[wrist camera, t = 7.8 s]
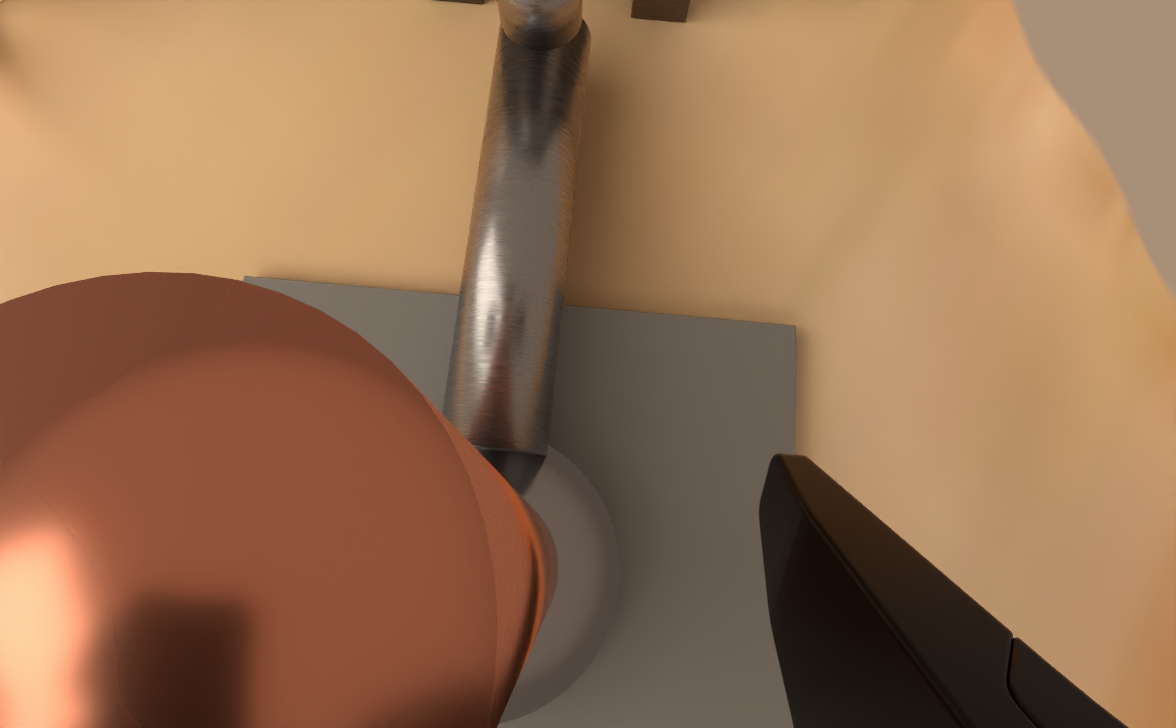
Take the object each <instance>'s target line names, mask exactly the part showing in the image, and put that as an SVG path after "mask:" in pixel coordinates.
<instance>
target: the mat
mask: <svg viewBox="0 0 1176 728" xmlns="http://www.w3.org/2000/svg"><path fill="white" fill-rule="evenodd" d="M243 282H246V283H249V284H253V285H256V286H260V287H263V288H267V289H270V290H273V291H277V292H280V293H283V294H285V295H287V296H289V297H292V298H294V299H296V300H298V301H301V302H303V303H305V304H308V305H310V306H312V307H314V308H317V309H319V310H321V311H323V312H324V313H326V314H327V315H329V316H331V317H332V318H334V319H335V320H337V321H339V322H340V323H342V324H344V325H345V326H347V327H348V328H350V329H352V330H353V331H355V332H357V333H358V334H359V335H360V336H362V337H363V338H364V339H365V340H366V341H368V342H369V343H370V344H371V345H372V346H374V347H375V348H376V349H377V350H379V351H380V352H381V353H382V354H383V355H385V356H386V357H387V358H388V359H389V360H391V361H392V362H393V363H394V364H395V365H396V366H397V368H398V369H399V370H400V371H401V372H402V373H403V374H404V375H405V376H406V377H407V378H408V379H409V380H410V381H411V382H412V383H413V384H414V385H415V386H416V387H417V388H418V389H419V390H420V391H421V392H422V393H423V394H424V396H425V397H426V398H427V399H428V400H429V401H430V402H431V403H432V404H433V405H434V406H435V407H436V408H437V409H438V410H439V411H440V412H441V413H442V410H443V403H444V396H445V390H446V383H447V376H448V370H449V363H450V356H451V350H452V343H453V336H454V330H455V323H456V316H457V310H458V303H459V296H460V295H450V294H439V293H428V292H417V291H406V290H395V289H384V288H373V287H362V286H351V285H340V284H329V283H318V282H307V281H296V280H285V279H274V278H263V277H251V276H244V279H243ZM795 355H796V326H792V325H781V324H770V323H759V322H748V321H737V320H726V319H715V318H704V317H693V316H682V315H671V314H660V313H649V312H638V311H627V310H616V309H605V308H594V307H583V306H572V305H563V308H562V317H561V327H560V336H559V346H558V355H557V364H556V374H555V383H554V393H553V402H552V412H551V421H550V431H549V440H548V445H549V446H550V447H552V448H554V449H555V450H557V451H559V452H560V453H562V454H563V455H564V456H565V457H566V458H568V459H569V460H570V461H571V462H573V463H574V464H575V465H576V466H577V467H578V468H579V469H580V470H581V471H582V472H583V474H584V475H585V476H586V477H587V478H588V479H589V481H590V482H591V483H592V485H593V486H594V488H595V489H596V490H597V492H598V494H599V495H600V497H601V499H602V501H603V503H604V505H605V507H606V508H607V511H608V514H609V516H610V519H611V521H612V524H613V527H614V531H615V535H616V539H617V544H618V552H619V560H620V583H619V590H618V598H617V604H616V607H615V611H614V615H613V619H612V622H611V624H610V627H609V629H608V632H607V634H606V637H605V639H604V641H603V643H602V645H601V646H600V648H599V650H598V652H597V654H596V655H595V657H594V659H593V660H592V661H591V663H590V664H589V665H588V667H587V668H586V669H585V671H584V672H583V673H582V675H581V676H580V677H579V678H578V679H577V680H576V681H575V682H574V683H573V684H572V685H571V686H570V687H569V688H568V689H567V690H565V691H564V692H563V693H562V694H560V695H559V696H558V697H557V698H555V699H554V700H553V701H551V702H550V703H548V704H546V705H545V706H543V707H541V708H540V709H538V710H536V711H535V712H532V713H530V714H528V715H525V716H523V717H521V718H518V719H516V720H512V721H508V722H504V723H501V724H498V726H497V728H793V722H792V718H791V713H790V709H789V705H788V700H787V696H786V691H785V687H784V683H783V678H782V674H781V669H780V665H779V661H778V656H777V652H776V647H775V643H774V639H773V634H772V629H771V623H770V618H769V610H768V601H767V592H766V582H765V572H764V563H763V553H762V543H761V534H760V524H759V503H760V498H761V494H762V491H763V487H764V483H765V479H766V475H767V472H768V468H769V464H770V461H771V459H772V457H773V456H774V455H775V454H777V453H784V454H795Z"/></svg>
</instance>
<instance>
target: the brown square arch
mask: <svg viewBox="0 0 1176 728" xmlns="http://www.w3.org/2000/svg"><path fill="white" fill-rule="evenodd" d="M442 1H453V2H464V3H476V4H483V0H442ZM689 3H690V0H633V3H632V15H631V17H633V18H645V19H656V20H667V21H679V22H685V21H686V17H687V12H688V7H689Z"/></svg>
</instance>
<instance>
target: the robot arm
mask: <svg viewBox="0 0 1176 728" xmlns="http://www.w3.org/2000/svg"><path fill="white" fill-rule="evenodd" d="M759 524H760V534H761V543H762V553H763V563H764V572H765V582H766V592H767V601H768V610H769V618H770V623H771V629H772V634H773V639H774V643H775V647H776V652H777V656H778V661H779V665H780V669H781V674H782V678H783V683H784V687H785V691H786V696H787V700H788V705H789V709H790V713H791V718H792V722H793V727H794V728H1128V727H1127V726H1126V725H1124V724H1123V723H1122V722H1121V721H1119V720H1118V719H1117V718H1115V717H1114V716H1113V715H1112V714H1110V713H1109V712H1108V711H1106V710H1105V709H1104V708H1103V707H1101V706H1100V705H1099V704H1097V703H1096V702H1095V701H1094V700H1092V699H1091V698H1090V697H1089V696H1088V695H1086V694H1085V693H1084V692H1083V691H1082V690H1080V689H1079V688H1078V687H1077V686H1075V685H1074V684H1073V683H1072V682H1071V681H1069V680H1068V679H1067V678H1066V677H1065V676H1063V675H1062V674H1061V673H1060V672H1058V671H1057V670H1056V669H1055V668H1054V667H1052V666H1051V665H1050V664H1049V663H1048V662H1046V661H1045V660H1044V659H1043V658H1042V657H1041V656H1039V655H1038V654H1037V653H1036V652H1035V651H1034V650H1032V649H1031V648H1030V647H1029V646H1028V645H1027V644H1025V643H1024V642H1023V641H1022V640H1021V639H1019V638H1013V634H1012V632H1011V631H1010V630H1009V629H1008V628H1006V627H1005V626H1004V625H1003V624H1002V623H1001V622H999V621H998V620H997V619H996V618H995V617H994V616H992V615H991V614H990V613H989V612H988V611H986V610H985V609H984V608H983V607H982V606H981V605H979V604H978V603H977V602H976V601H975V600H974V599H972V598H971V597H970V596H969V595H968V594H967V593H965V592H964V591H963V590H962V589H961V588H960V587H958V586H957V585H956V584H955V583H954V582H953V581H951V580H950V579H949V578H948V577H947V576H946V575H944V574H943V573H942V572H941V571H940V570H939V569H937V568H936V567H935V566H934V565H933V564H932V563H930V562H929V561H928V560H927V559H926V558H925V557H923V556H922V555H921V554H920V553H919V552H918V551H916V550H915V549H914V548H913V547H912V546H911V545H909V544H908V543H907V542H906V541H905V540H904V539H902V538H901V537H900V536H899V535H898V534H896V533H895V532H894V531H893V530H892V529H891V528H889V527H888V526H887V525H886V524H885V523H884V522H882V521H881V520H880V519H879V518H878V517H877V516H875V515H874V514H873V513H872V512H871V511H870V510H868V509H867V508H866V507H865V506H864V505H863V504H861V503H860V502H859V501H858V500H857V499H856V498H854V497H853V496H852V495H851V494H850V493H849V492H847V491H846V490H845V489H844V488H843V487H842V486H840V485H839V484H838V483H837V482H836V481H835V480H833V479H832V478H831V477H830V476H829V475H828V474H826V473H825V472H824V471H823V470H822V469H821V468H819V467H818V466H817V465H816V464H815V463H813V462H812V461H811V460H810V459H809V458H807V457H806V456H803V455H795V454H784V453H777V454H775V455H774V456H773V457H772V459H771V461H770V464H769V468H768V472H767V475H766V479H765V483H764V487H763V491H762V494H761V498H760V503H759Z"/></svg>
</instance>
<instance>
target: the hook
mask: <svg viewBox="0 0 1176 728" xmlns="http://www.w3.org/2000/svg"><path fill="white" fill-rule="evenodd" d="M498 7H499V14H500V21H501V22H500V29H499V35H498V42H497V49H496V55H495V62H494V69H493V76H492V82H491V89H490V96H489V102H488V109H487V116H486V122H485V129H484V136H483V142H482V149H481V156H480V162H479V169H478V176H477V183H476V189H475V196H474V203H473V209H472V216H471V223H470V229H469V236H468V243H467V249H466V256H465V263H464V269H463V276H462V283H461V289H460V296H459V303H458V310H457V316H456V323H455V330H454V336H453V343H452V350H451V356H450V363H449V370H448V376H447V383H446V390H445V396H444V403H443V410H442V413H441V412H440V411H439V410H438V409H437V408H436V407H435V406H434V405H433V404H432V403H431V402H430V401H429V400H428V399H427V398H426V397H425V396H424V394H423V393H422V392H421V391H420V390H419V389H418V388H417V387H416V386H415V385H414V384H413V383H412V382H411V381H410V380H409V379H408V378H407V377H406V376H405V375H404V374H403V373H402V372H401V371H400V370H399V369H398V368H397V366H396V365H395V364H394V363H393V362H392V361H391V360H389V359H388V358H387V357H386V356H385V355H383V354H382V353H381V352H380V351H379V350H377V349H376V348H375V347H374V346H372V345H371V344H370V343H369V342H368V341H366V340H365V339H364V338H363V337H362V336H360V335H359V334H358V333H357V332H355V331H353V330H352V329H350V328H348V327H347V326H345V325H344V324H342V323H340V322H339V321H337V320H335V319H334V318H332V317H331V316H329V315H327V314H326V313H324V312H323V311H321V310H319V309H317V308H314V307H312V306H310V305H308V304H305V303H303V302H301V301H298V300H296V299H294V298H292V297H289V296H287V295H285V294H283V293H280V292H277V291H273V290H270V289H267V288H263V287H260V286H256V285H253V284H249V283H246V282H242V281H239V280H233V279H227V278H220V277H214V276H207V275H201V274H195V273H164V272H143V273H132V274H121V275H109V276H100V277H95V278H90V279H86V280H81V281H76V282H71V283H66V284H61V285H56V286H53V287H50V288H46V289H43V290H40V291H37V292H34V293H31V294H28V295H25V296H22V297H19V298H15V299H12V300H9V301H7V302H4V303H2V304H0V728H497V726H498V724H501V723H504V722H508V721H512V720H516V719H518V718H521V717H523V716H525V715H528V714H530V713H532V712H535V711H536V710H538V709H540V708H541V707H543V706H545V705H546V704H548V703H550V702H551V701H553V700H554V699H555V698H557V697H558V696H559V695H560V694H562V693H563V692H564V691H565V690H567V689H568V688H569V687H570V686H571V685H572V684H573V683H574V682H575V681H576V680H577V679H578V678H579V677H580V676H581V675H582V673H583V672H584V671H585V669H586V668H587V667H588V665H589V664H590V663H591V661H592V660H593V659H594V657H595V655H596V654H597V652H598V650H599V648H600V646H601V645H602V643H603V641H604V639H605V637H606V634H607V632H608V629H609V627H610V624H611V622H612V619H613V615H614V611H615V607H616V604H617V598H618V590H619V583H620V560H619V552H618V544H617V539H616V535H615V531H614V527H613V524H612V521H611V519H610V516H609V514H608V511H607V508H606V507H605V505H604V503H603V501H602V499H601V497H600V495H599V494H598V492H597V490H596V489H595V488H594V486H593V485H592V483H591V482H590V481H589V479H588V478H587V477H586V476H585V475H584V474H583V472H582V471H581V470H580V469H579V468H578V467H577V466H576V465H575V464H574V463H573V462H571V461H570V460H569V459H568V458H566V457H565V456H564V455H563V454H562V453H560V452H559V451H557V450H555V449H554V448H552V447H550V446H549V445H548V440H549V431H550V421H551V412H552V402H553V393H554V383H555V374H556V364H557V355H558V346H559V336H560V327H561V317H562V308H563V298H564V289H565V279H566V270H567V260H568V251H569V242H570V232H571V223H572V213H573V204H574V194H575V185H576V175H577V166H578V156H579V147H580V138H581V128H582V119H583V109H584V100H585V90H586V81H587V71H588V62H589V53H590V43H591V35H590V31H589V28H588V26H587V24H586V23H585V21H584V20H583V19H582V0H498Z"/></svg>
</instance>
